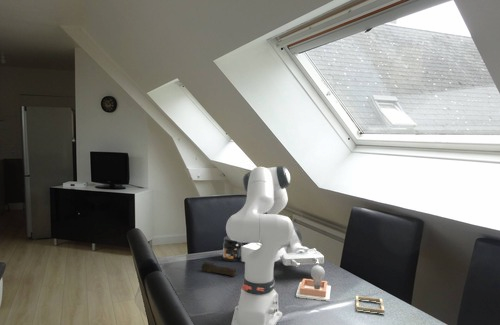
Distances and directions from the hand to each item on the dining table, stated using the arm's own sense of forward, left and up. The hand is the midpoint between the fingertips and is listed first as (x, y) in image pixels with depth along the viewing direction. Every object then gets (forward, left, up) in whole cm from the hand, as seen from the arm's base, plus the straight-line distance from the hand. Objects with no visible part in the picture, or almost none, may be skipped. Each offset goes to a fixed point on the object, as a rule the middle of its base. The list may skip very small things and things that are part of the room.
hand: (307, 264), depth 164 cm
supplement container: (+22, +44, -9) cm, 50 cm away
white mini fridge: (+28, +27, -10) cm, 40 cm away
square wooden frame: (-15, -27, -9) cm, 32 cm away
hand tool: (0, +44, -10) cm, 46 cm away
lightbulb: (-8, -5, -8) cm, 12 cm away
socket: (-8, -4, -9) cm, 13 cm away
